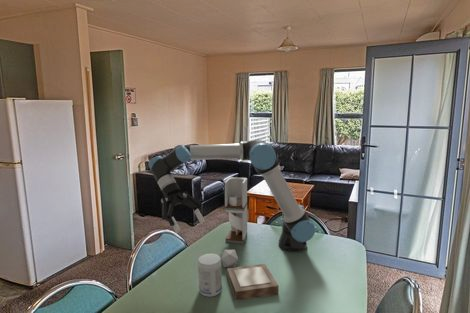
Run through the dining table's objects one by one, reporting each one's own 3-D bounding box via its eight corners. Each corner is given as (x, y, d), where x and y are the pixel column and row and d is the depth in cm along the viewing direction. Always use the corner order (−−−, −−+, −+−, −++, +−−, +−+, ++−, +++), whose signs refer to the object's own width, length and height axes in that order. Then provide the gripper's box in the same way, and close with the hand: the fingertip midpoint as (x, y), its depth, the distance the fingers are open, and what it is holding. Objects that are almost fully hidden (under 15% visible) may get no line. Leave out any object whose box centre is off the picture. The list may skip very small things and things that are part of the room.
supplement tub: (216, 282, 138) (216, 251, 135) (225, 293, 129) (225, 261, 127) (195, 287, 133) (194, 256, 131) (203, 300, 125) (202, 266, 122)
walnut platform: (265, 271, 146) (265, 263, 145) (278, 294, 128) (278, 285, 128) (227, 276, 142) (227, 267, 141) (235, 300, 125) (235, 291, 124)
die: (232, 273, 145) (242, 255, 147) (216, 263, 146) (227, 245, 148) (232, 270, 153) (242, 253, 155) (217, 261, 154) (227, 244, 156)
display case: (229, 233, 188) (229, 177, 182) (247, 235, 186) (247, 178, 179) (225, 241, 177) (224, 182, 171) (244, 243, 175) (243, 183, 168)
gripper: (187, 185, 153) (208, 222, 145) (141, 197, 134) (163, 240, 127) (194, 177, 148) (216, 214, 141) (147, 187, 130) (170, 231, 123)
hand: (191, 226), depth 134 cm, fingers open, 13 cm apart
